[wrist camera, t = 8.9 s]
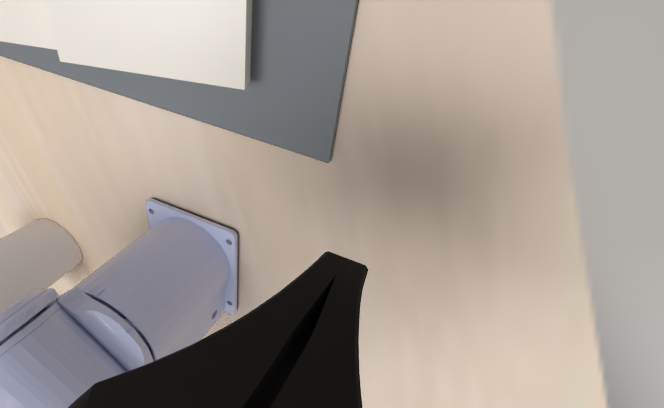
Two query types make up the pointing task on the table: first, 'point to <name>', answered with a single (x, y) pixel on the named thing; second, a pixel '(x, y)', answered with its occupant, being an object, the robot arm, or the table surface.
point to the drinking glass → (34, 259)
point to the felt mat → (265, 77)
